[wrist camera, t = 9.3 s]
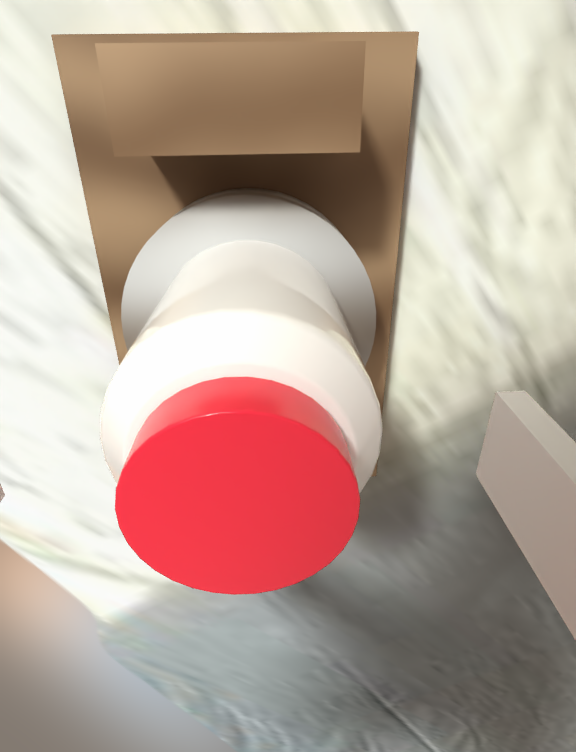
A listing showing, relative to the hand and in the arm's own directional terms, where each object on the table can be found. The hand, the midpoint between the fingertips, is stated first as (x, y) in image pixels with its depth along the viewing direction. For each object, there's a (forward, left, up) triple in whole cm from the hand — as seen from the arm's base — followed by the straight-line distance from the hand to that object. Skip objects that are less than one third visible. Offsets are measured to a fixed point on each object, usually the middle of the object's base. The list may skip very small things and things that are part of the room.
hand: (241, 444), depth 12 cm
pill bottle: (0, 0, -9) cm, 9 cm away
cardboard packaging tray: (0, 0, -13) cm, 13 cm away
